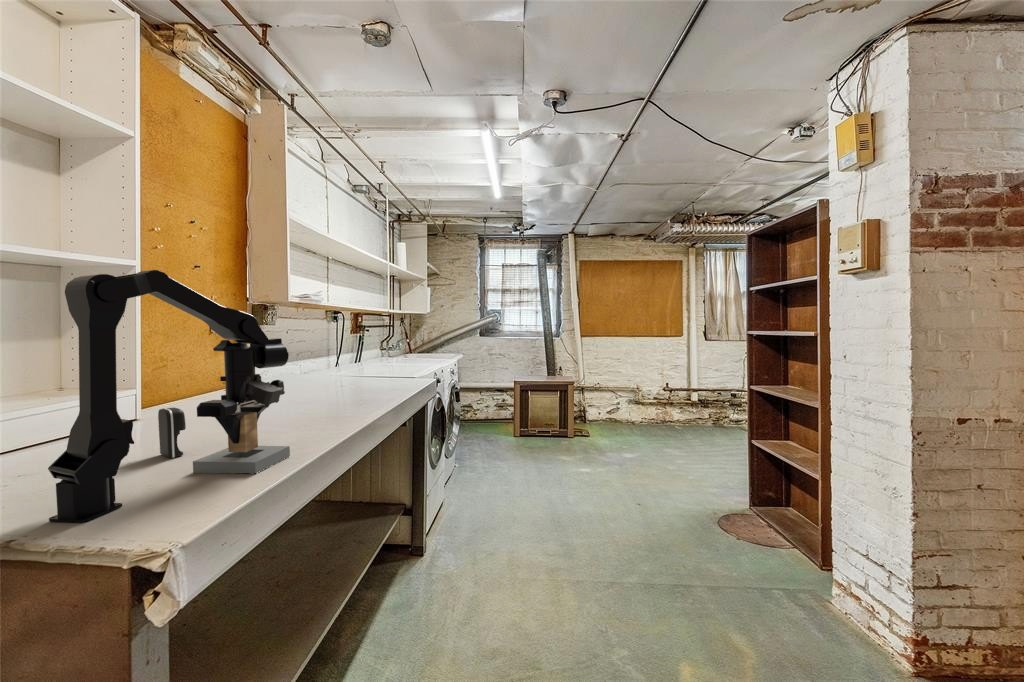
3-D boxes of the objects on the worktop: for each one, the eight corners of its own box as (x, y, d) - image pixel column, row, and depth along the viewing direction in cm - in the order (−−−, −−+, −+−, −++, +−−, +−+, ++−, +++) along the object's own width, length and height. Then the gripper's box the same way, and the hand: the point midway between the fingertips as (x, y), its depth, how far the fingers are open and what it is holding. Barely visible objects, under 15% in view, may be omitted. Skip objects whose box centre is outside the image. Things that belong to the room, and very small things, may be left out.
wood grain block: (245, 452, 96) (244, 415, 95) (228, 452, 96) (227, 415, 96) (258, 447, 100) (256, 412, 99) (241, 446, 100) (240, 412, 100)
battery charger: (188, 455, 106) (186, 408, 105) (169, 459, 103) (167, 411, 102) (178, 450, 110) (176, 405, 109) (159, 454, 107) (157, 407, 106)
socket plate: (255, 474, 92) (255, 462, 91) (193, 473, 93) (192, 461, 93) (289, 456, 103) (289, 446, 103) (234, 455, 105) (233, 445, 105)
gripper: (245, 375, 87) (248, 453, 88) (299, 366, 106) (301, 430, 106) (193, 375, 88) (196, 452, 89) (255, 366, 107) (257, 430, 107)
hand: (242, 440), depth 98 cm, fingers closed on wood grain block, 4 cm apart
